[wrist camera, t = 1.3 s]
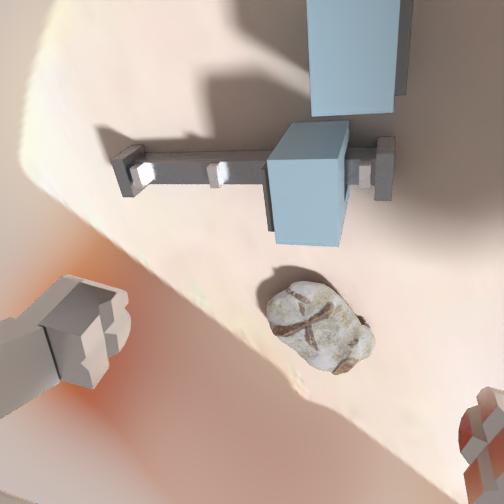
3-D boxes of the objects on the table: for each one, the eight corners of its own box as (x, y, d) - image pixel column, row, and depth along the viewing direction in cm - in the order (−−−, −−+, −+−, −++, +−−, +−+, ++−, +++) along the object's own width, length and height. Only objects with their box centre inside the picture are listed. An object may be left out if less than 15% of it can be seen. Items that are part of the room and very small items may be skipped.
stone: (254, 298, 44) (245, 319, 42) (314, 260, 39) (308, 280, 36) (325, 364, 47) (321, 387, 44) (391, 336, 42) (391, 360, 39)
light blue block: (410, -31, 25) (416, -31, 18) (402, 80, 28) (404, 111, 22) (326, -18, 26) (305, -14, 20) (329, 85, 30) (311, 116, 23)
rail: (394, 136, 30) (394, 153, 27) (391, 180, 32) (391, 200, 29) (131, 145, 37) (110, 159, 34) (142, 180, 39) (122, 197, 36)
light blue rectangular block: (349, 119, 31) (337, 158, 24) (349, 195, 34) (338, 246, 28) (284, 122, 32) (257, 160, 26) (290, 195, 36) (268, 243, 29)
